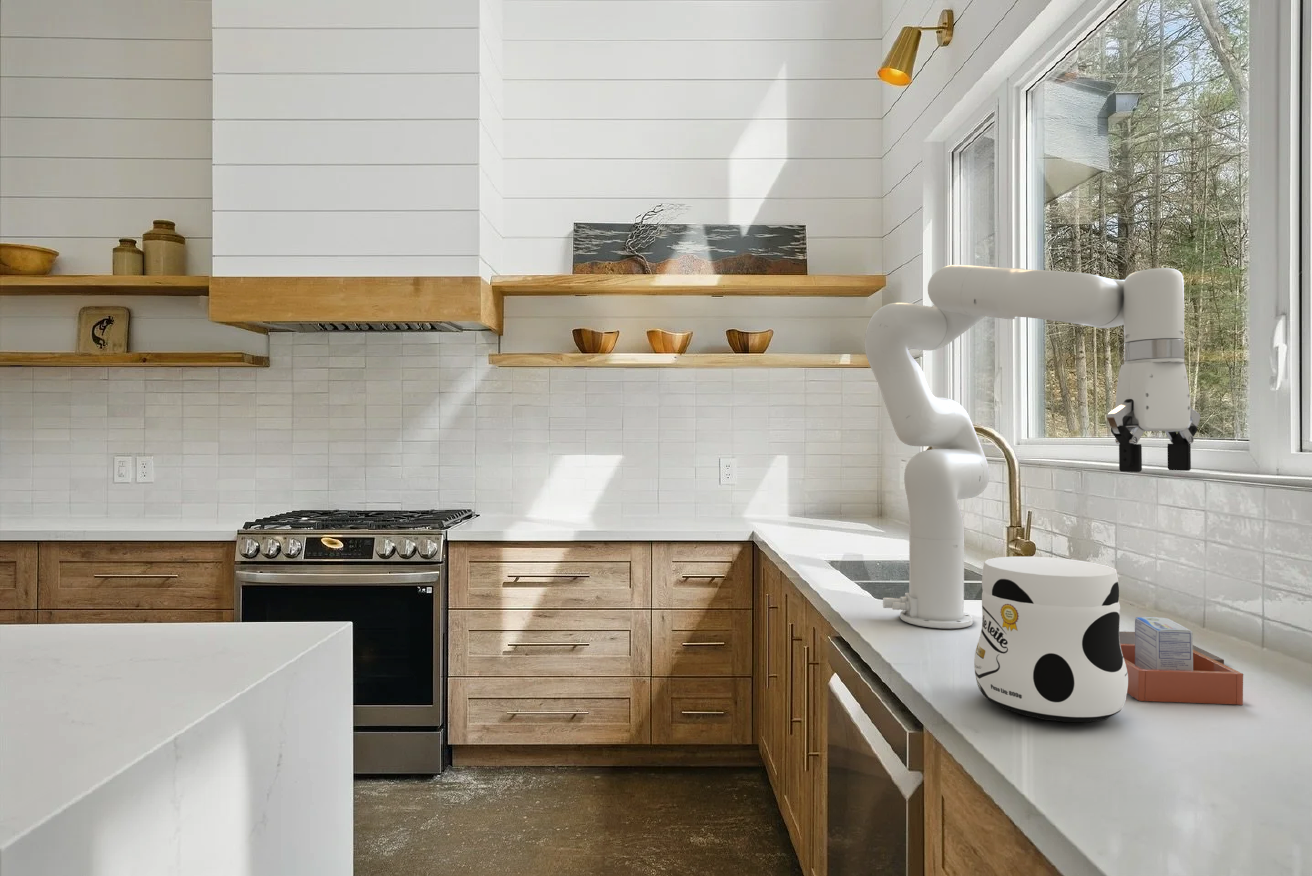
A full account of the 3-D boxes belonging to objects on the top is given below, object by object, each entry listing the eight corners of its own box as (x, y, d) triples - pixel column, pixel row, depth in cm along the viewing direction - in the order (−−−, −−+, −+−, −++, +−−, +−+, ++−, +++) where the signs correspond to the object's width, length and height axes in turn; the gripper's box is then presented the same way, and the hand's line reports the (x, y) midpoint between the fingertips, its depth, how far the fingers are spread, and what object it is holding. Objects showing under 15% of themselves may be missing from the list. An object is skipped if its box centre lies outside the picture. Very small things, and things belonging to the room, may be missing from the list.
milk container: (944, 696, 105) (945, 559, 104) (1040, 679, 111) (1040, 551, 111) (1057, 743, 89) (1058, 582, 88) (1161, 721, 96) (1162, 572, 95)
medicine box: (1194, 696, 105) (1194, 630, 104) (1156, 694, 105) (1157, 629, 105) (1168, 678, 112) (1168, 617, 112) (1133, 676, 113) (1134, 615, 113)
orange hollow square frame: (1138, 700, 103) (1138, 670, 103) (1092, 669, 116) (1092, 642, 116) (1243, 704, 101) (1243, 673, 101) (1184, 672, 115) (1184, 645, 115)
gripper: (1172, 359, 123) (1173, 469, 123) (1087, 355, 117) (1088, 471, 117) (1221, 353, 116) (1222, 470, 116) (1133, 350, 110) (1134, 473, 110)
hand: (1155, 471), depth 117 cm, fingers open, 9 cm apart
